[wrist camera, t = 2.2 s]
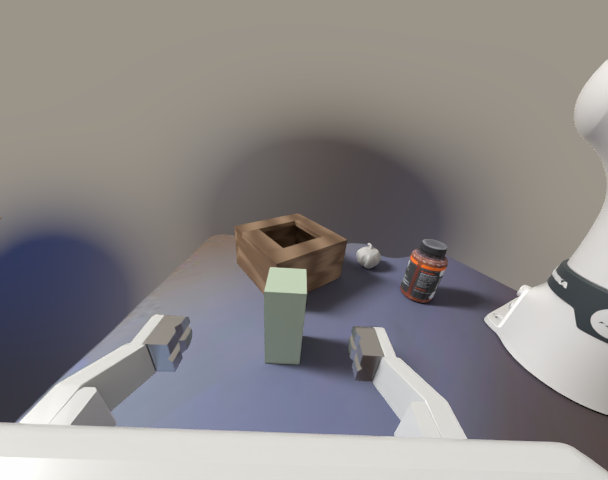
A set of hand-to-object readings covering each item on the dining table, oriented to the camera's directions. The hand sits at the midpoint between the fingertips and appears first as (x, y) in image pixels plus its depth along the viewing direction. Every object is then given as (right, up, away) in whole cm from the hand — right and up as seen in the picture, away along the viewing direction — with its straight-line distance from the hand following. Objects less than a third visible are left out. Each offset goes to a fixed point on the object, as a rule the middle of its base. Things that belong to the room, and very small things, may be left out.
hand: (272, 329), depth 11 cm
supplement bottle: (+24, -6, +32) cm, 41 cm away
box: (-2, -2, +36) cm, 36 cm away
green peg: (-1, -11, +19) cm, 22 cm away
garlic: (+16, -2, +40) cm, 43 cm away
